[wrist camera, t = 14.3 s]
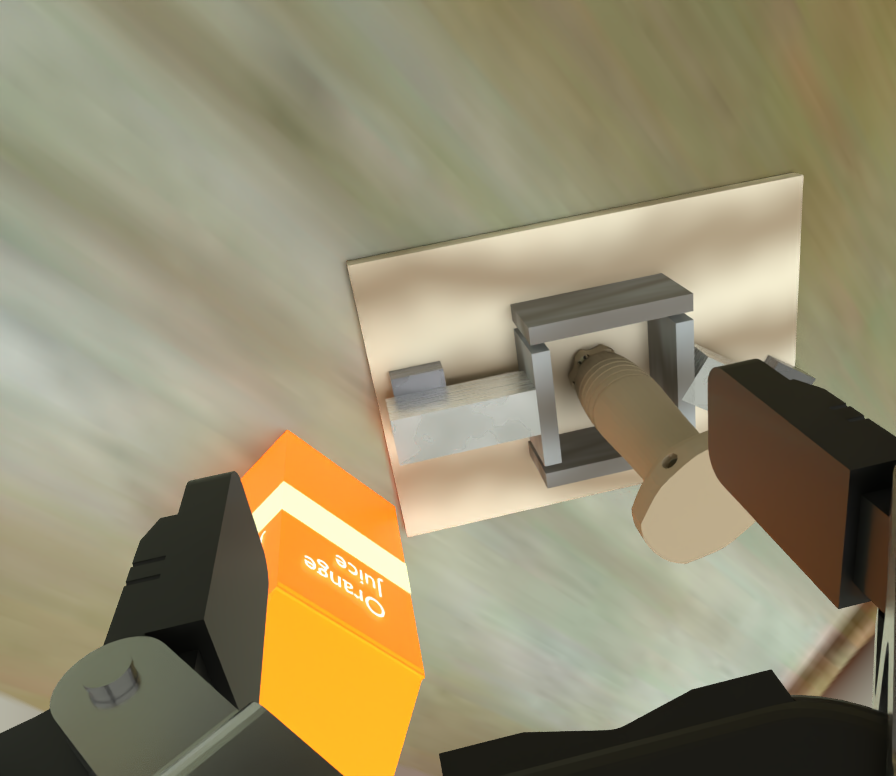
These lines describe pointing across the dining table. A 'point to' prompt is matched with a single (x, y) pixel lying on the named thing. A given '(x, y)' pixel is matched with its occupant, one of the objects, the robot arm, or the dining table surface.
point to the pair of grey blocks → (496, 406)
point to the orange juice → (334, 610)
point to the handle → (658, 458)
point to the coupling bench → (578, 329)
